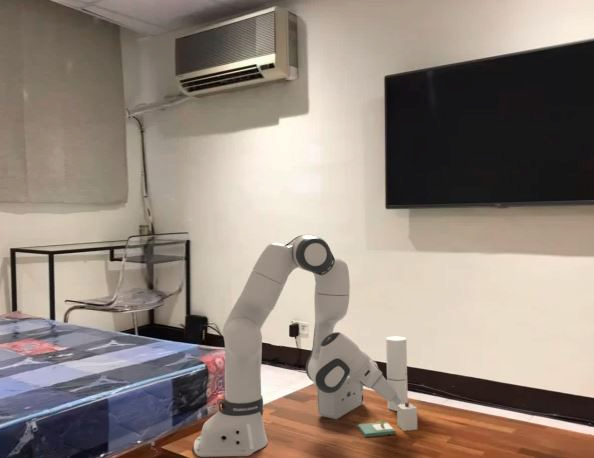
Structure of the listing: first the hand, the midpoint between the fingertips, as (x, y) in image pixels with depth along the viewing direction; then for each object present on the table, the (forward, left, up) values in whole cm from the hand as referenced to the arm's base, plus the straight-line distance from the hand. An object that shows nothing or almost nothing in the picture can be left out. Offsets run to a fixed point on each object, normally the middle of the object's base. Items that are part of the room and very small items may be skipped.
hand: (393, 398), depth 177 cm
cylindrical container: (+8, +19, -10) cm, 23 cm away
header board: (-6, 0, -10) cm, 12 cm away
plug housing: (+4, 0, -10) cm, 11 cm away
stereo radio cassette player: (-12, +21, -10) cm, 26 cm away
